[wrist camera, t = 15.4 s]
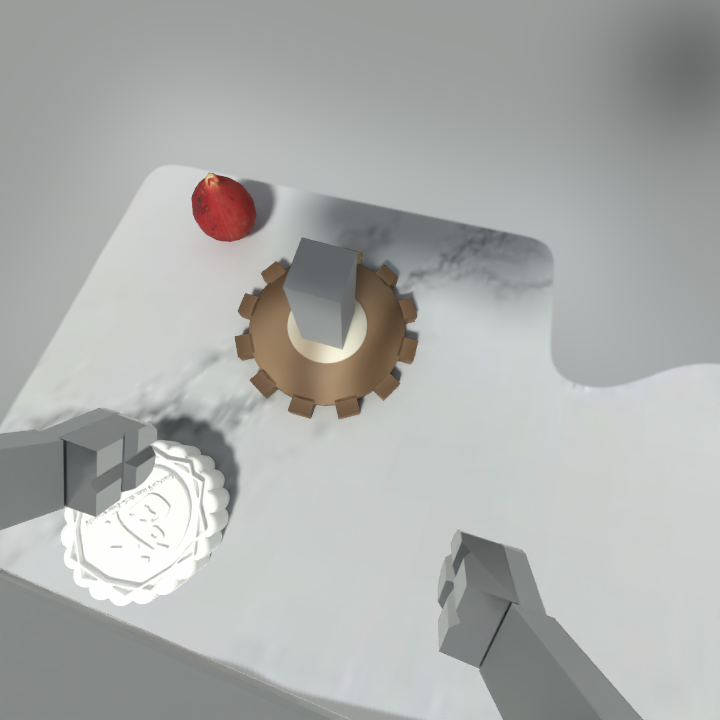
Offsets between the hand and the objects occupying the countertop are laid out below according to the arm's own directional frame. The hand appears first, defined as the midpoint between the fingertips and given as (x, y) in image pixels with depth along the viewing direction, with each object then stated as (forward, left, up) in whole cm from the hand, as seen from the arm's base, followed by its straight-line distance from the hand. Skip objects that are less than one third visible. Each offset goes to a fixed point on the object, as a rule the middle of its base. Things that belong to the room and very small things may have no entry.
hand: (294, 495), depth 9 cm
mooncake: (+13, +7, -24) cm, 28 cm away
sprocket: (+4, -13, -23) cm, 27 cm away
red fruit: (+17, -21, -23) cm, 36 cm away
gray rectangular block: (+4, -13, -21) cm, 25 cm away
